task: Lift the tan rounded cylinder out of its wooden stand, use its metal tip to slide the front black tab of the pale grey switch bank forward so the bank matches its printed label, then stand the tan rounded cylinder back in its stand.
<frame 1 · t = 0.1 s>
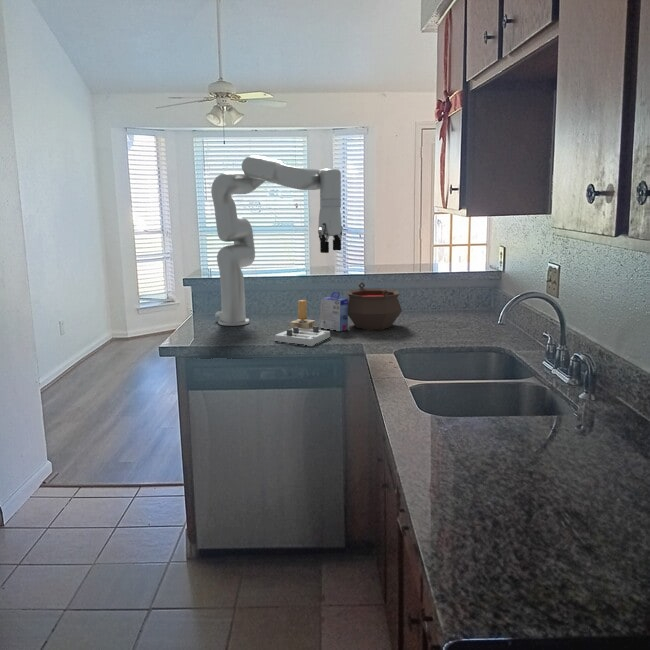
hand: (330, 251, 240), 31 cm above the worktop, tool pointing down, fingers open, 9 cm apart
tan rounded cylinder: (302, 316, 250), in the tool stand
tab 1: (289, 333, 235), point 3 cm above the worktop, slide at 0.0 cm
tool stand: (302, 331, 251), on the worktop
brown cauldron pot: (372, 326, 260), on the worktop
tab 3: (315, 330, 240), point 3 cm above the worktop, slide at 5.8 cm
ink cartridge box: (334, 329, 255), on the worktop
tab 2: (295, 331, 239), point 3 cm above the worktop, slide at 0.0 cm
switch bank: (302, 339, 238), on the worktop
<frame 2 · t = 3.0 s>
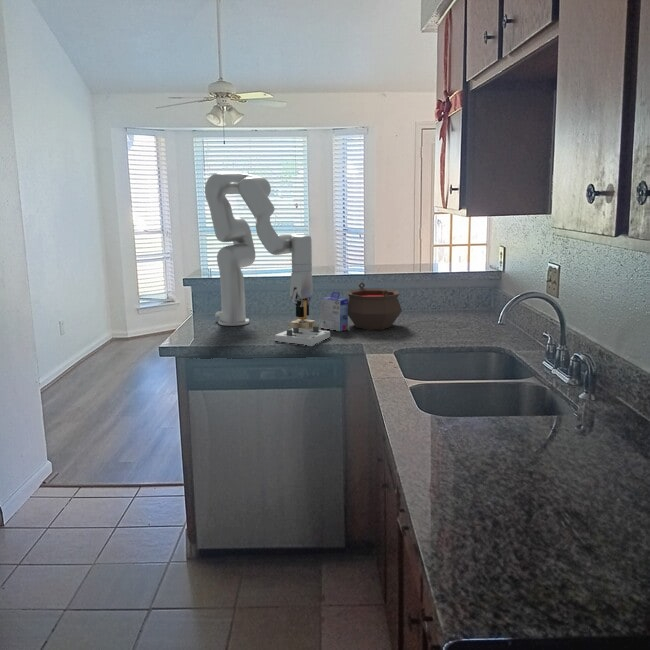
hand: (302, 315, 250), 6 cm above the worktop, tool pointing down, fingers closed on tan rounded cylinder, 3 cm apart
tan rounded cylinder: (302, 316, 250), in the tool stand, touching gripper
everything else where it was.
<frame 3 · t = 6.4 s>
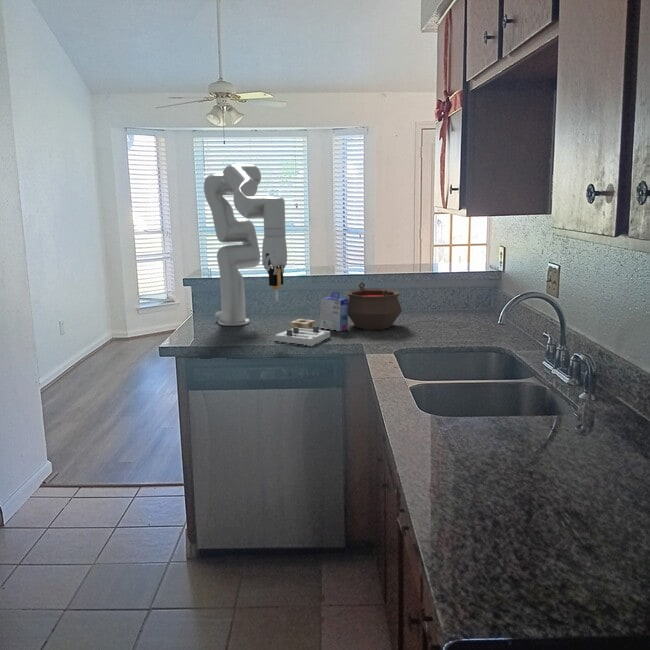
hand: (276, 284, 233), 20 cm above the worktop, tool pointing down, fingers closed on tan rounded cylinder, 3 cm apart
tan rounded cylinder: (276, 285, 233), point 20 cm above the worktop, touching gripper
everything else where it was.
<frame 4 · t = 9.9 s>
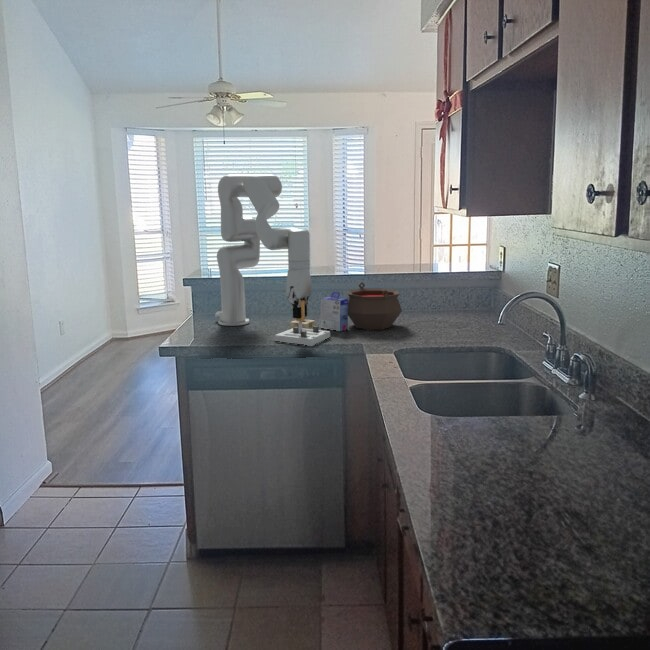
hand: (299, 316, 231), 10 cm above the worktop, tool pointing down, fingers closed on tan rounded cylinder, 3 cm apart
tan rounded cylinder: (300, 317, 231), point 9 cm above the worktop, touching gripper, tab 1
tab 1: (303, 335, 232), point 3 cm above the worktop, slide at 5.9 cm, touching tan rounded cylinder
everything else where it was.
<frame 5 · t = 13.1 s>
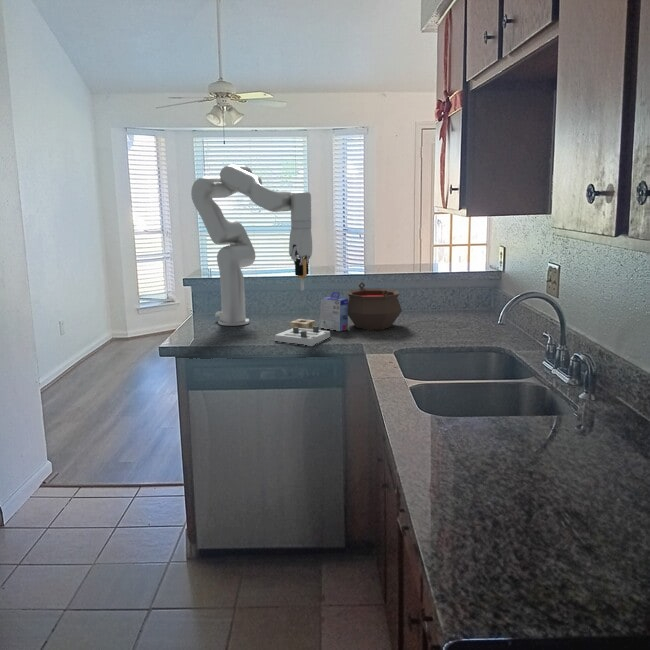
hand: (301, 274, 247), 22 cm above the worktop, tool pointing down, fingers closed on tan rounded cylinder, 3 cm apart
tan rounded cylinder: (302, 274, 247), point 22 cm above the worktop, touching gripper
tab 1: (303, 335, 232), point 3 cm above the worktop, slide at 5.9 cm
everything else where it was.
when the fingers open (8 cm above the worktop, at t = 16.0 s): tan rounded cylinder drops 1 cm, resting in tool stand.
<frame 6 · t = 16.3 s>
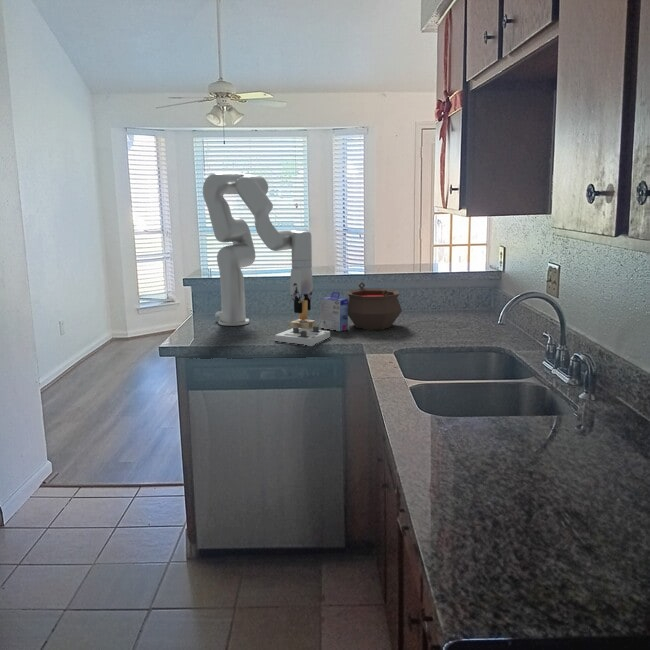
hand: (302, 310, 250), 8 cm above the worktop, tool pointing down, fingers open, 5 cm apart
tan rounded cylinder: (303, 316, 250), in the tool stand
everything else where it was.
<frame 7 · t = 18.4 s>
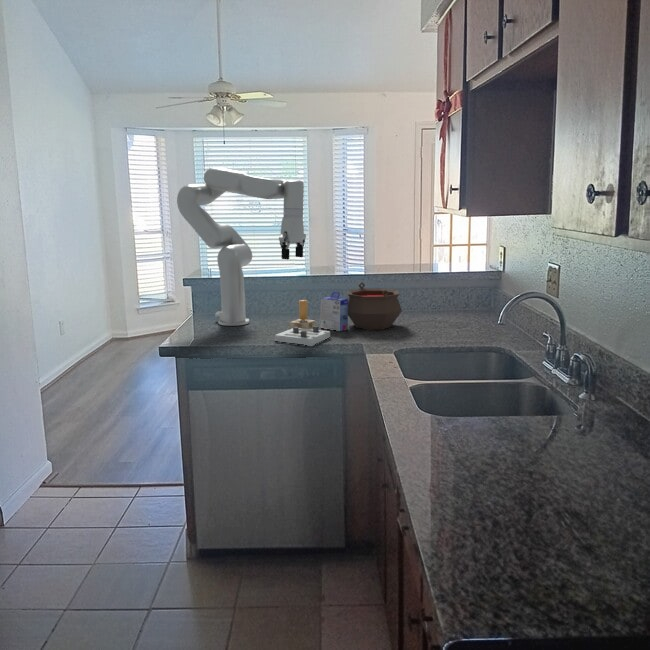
hand: (292, 258, 254), 27 cm above the worktop, tool pointing down, fingers open, 9 cm apart
nothing on the worktop moved.
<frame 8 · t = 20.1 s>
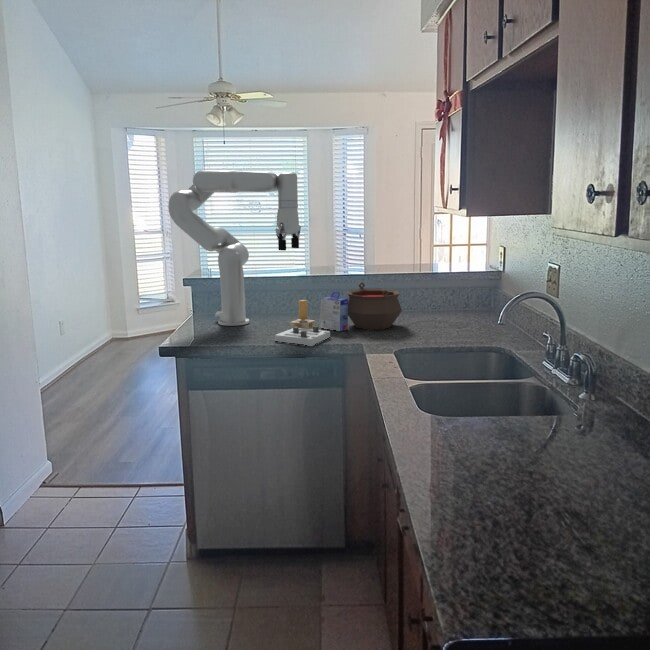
hand: (288, 249, 258), 30 cm above the worktop, tool pointing down, fingers open, 9 cm apart
nothing on the worktop moved.
at the end: tab 1 slide at 5.9 cm; tan rounded cylinder 0.2 cm off-centre on the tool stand, point 6.0 cm above the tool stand's base; tan rounded cylinder tilted 1° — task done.
